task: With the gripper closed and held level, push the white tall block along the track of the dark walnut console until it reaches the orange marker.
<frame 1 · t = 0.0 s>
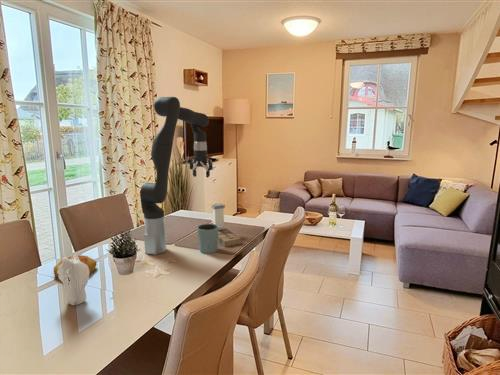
hand: (201, 176, 193), 29 cm above the table, tool pointing down, fingers open, 8 cm apart
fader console: (224, 238, 173), on the table
teal cylindrical container: (208, 250, 158), on the table
shell sculpture: (76, 302, 112), on the table
white tall block: (218, 217, 178), point 10 cm above the table, slide at 0.0 cm
croissant: (75, 274, 134), on the table
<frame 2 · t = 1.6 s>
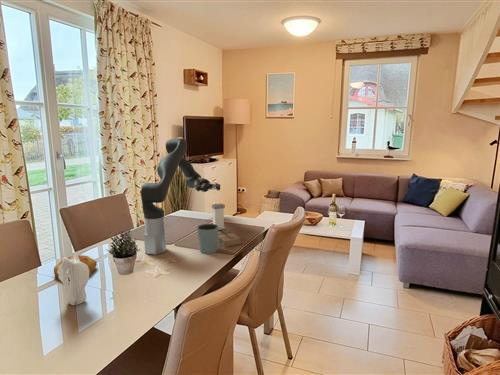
hand: (212, 189, 182), 24 cm above the table, tool horizontal, fingers open, 7 cm apart
nothing on the table moved.
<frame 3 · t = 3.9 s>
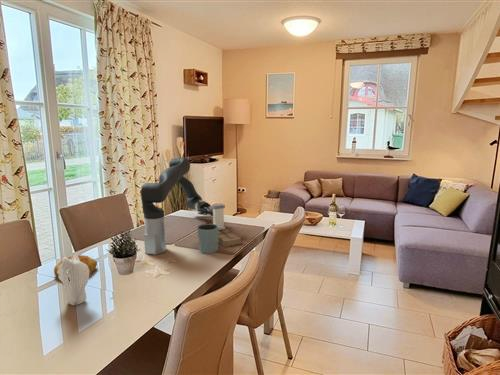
hand: (213, 214, 184), 10 cm above the table, tool horizontal, fingers closed
nothing on the table moved.
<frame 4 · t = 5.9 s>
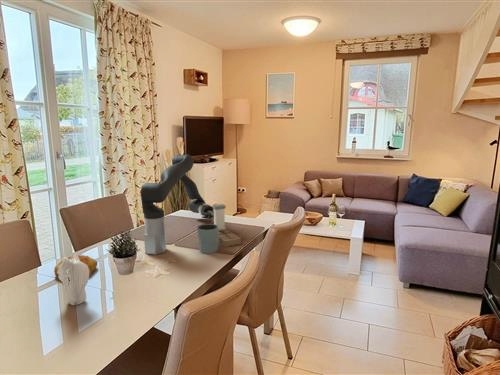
hand: (218, 218, 178), 9 cm above the table, tool horizontal, fingers closed
white tall block: (219, 217, 177), point 10 cm above the table, slide at 1.0 cm, touching gripper
everything else where it was.
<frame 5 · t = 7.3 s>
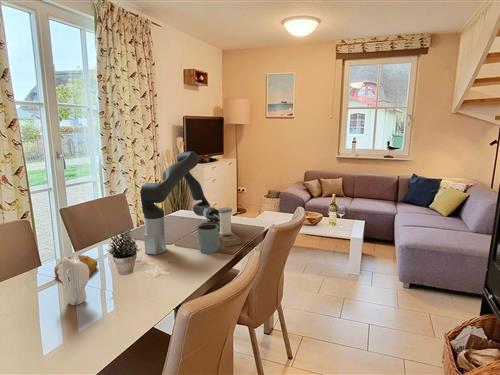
hand: (224, 222, 171), 9 cm above the table, tool horizontal, fingers closed
white tall block: (225, 221, 170), point 10 cm above the table, slide at 9.1 cm, touching gripper
everything else where it was.
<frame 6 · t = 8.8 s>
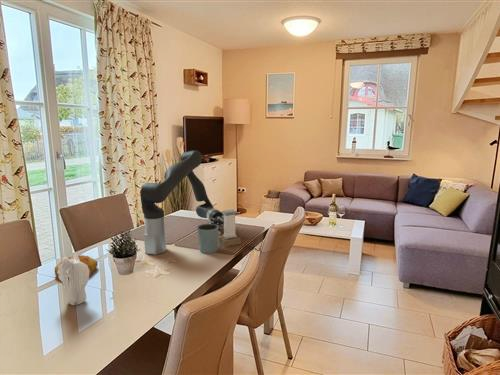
hand: (228, 224, 167), 9 cm above the table, tool horizontal, fingers closed
white tall block: (229, 224, 165), point 10 cm above the table, slide at 14.4 cm, touching gripper
everything else where it was.
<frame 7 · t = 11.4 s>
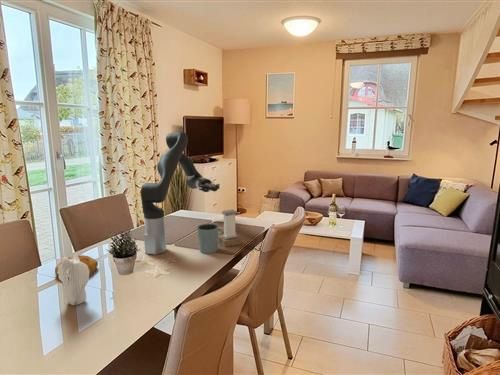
hand: (215, 189, 175), 26 cm above the table, tool horizontal, fingers closed
white tall block: (229, 224, 165), point 10 cm above the table, slide at 14.5 cm
everything else where it was.
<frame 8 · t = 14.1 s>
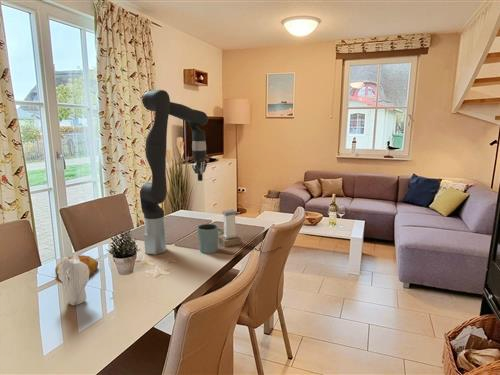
hand: (200, 180, 182), 29 cm above the table, tool pointing down, fingers closed
nothing on the table moved.
at the end: white tall block slide at 14.5 cm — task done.
